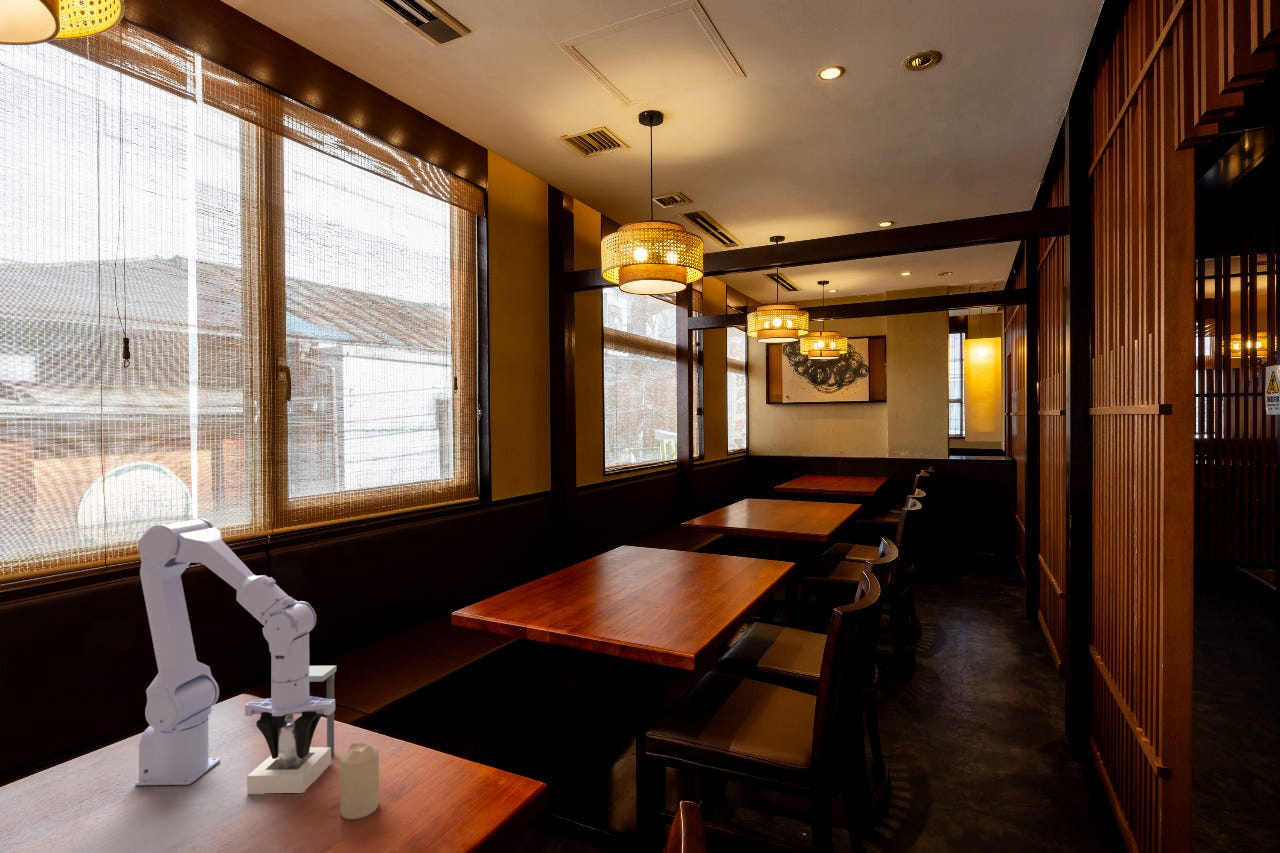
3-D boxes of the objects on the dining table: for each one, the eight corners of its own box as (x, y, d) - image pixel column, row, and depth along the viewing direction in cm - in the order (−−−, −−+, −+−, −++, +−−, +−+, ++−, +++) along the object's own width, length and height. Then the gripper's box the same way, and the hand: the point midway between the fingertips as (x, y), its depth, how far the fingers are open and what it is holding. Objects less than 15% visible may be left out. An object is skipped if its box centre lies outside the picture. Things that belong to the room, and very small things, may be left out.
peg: (284, 764, 109) (284, 718, 109) (308, 763, 109) (308, 717, 109) (272, 777, 105) (272, 729, 105) (297, 776, 105) (297, 728, 105)
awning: (272, 766, 111) (272, 676, 111) (288, 752, 116) (288, 666, 116) (323, 765, 111) (322, 675, 111) (336, 751, 116) (336, 665, 116)
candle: (385, 799, 100) (385, 737, 100) (367, 821, 95) (366, 755, 95) (353, 798, 101) (352, 736, 101) (333, 819, 95) (332, 753, 95)
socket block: (247, 794, 102) (247, 775, 102) (279, 764, 111) (279, 747, 111) (302, 793, 102) (302, 775, 102) (330, 764, 111) (330, 747, 111)
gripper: (233, 686, 103) (233, 768, 103) (320, 685, 103) (320, 767, 103) (259, 670, 110) (259, 747, 110) (341, 669, 110) (341, 746, 110)
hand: (290, 755), depth 107 cm, fingers closed on peg, 4 cm apart
